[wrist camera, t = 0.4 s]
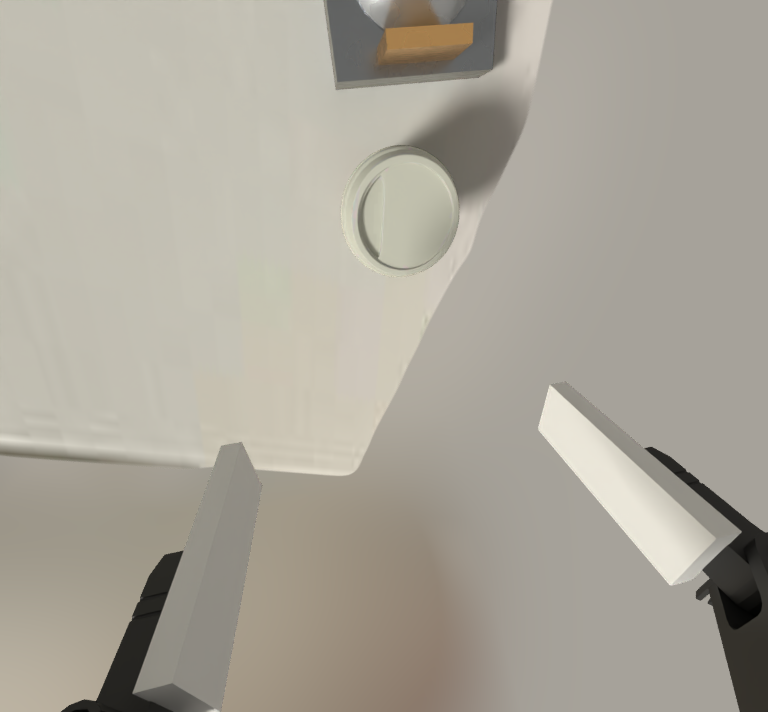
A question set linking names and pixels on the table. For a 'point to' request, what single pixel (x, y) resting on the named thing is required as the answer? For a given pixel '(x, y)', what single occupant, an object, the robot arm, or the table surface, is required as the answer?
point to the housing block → (409, 40)
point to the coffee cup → (400, 211)
